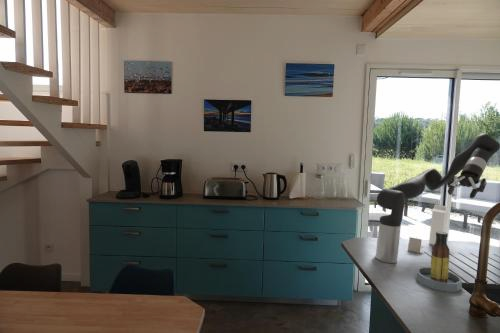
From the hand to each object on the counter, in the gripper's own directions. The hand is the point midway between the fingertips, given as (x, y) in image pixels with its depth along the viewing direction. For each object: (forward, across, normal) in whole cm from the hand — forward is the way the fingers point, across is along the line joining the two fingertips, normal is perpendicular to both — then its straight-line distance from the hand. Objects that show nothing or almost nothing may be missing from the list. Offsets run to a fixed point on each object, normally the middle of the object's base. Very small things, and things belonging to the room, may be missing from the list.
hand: (459, 195), depth 146 cm
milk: (+1, +21, -47) cm, 51 cm away
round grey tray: (+38, -4, -9) cm, 40 cm away
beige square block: (+18, +22, -31) cm, 42 cm away
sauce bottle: (+38, -4, -9) cm, 39 cm away
